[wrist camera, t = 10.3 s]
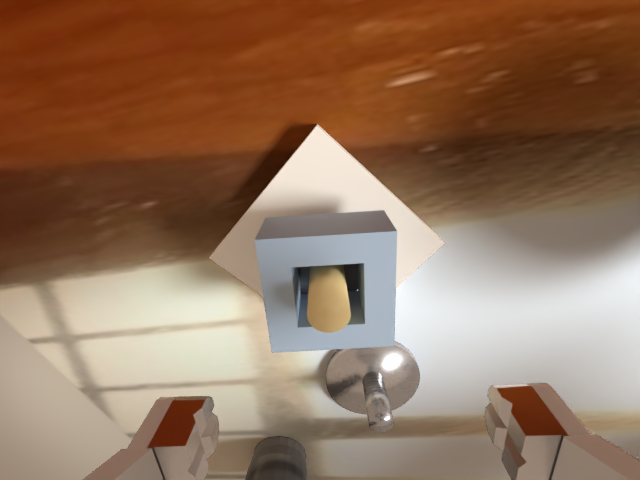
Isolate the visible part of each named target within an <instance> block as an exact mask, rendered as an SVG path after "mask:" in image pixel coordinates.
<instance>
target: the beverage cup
mask: <svg viewBox="0 0 640 480" xmlns="http://www.w3.org/2000/svg"><path fill="white" fill-rule="evenodd" d="M305 460H306V454H305V450H304V448H303V447H302V445H301V444H299V443H298V442H297V441H295V440H293V439H290V438H287V437H271V438H268V439H265V440H263V441H261V442H260V443H259V444H258V445H257V446H256V448H255V451H254V456H253V458H252V461H251V464H250V466H249V469H248V472H247V476H246V479H245V480H308V477H307V469H306V461H305Z"/></svg>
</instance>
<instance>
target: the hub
mask: <svg viewBox="0 0 640 480" xmlns="http://www.w3.org/2000/svg"><path fill="white" fill-rule="evenodd" d="M378 210H384V211H385V213H386V214H387V216H388V217H389V219H390V220H391V222H392V224H393V225H394V227H395V228H396V230H397V258H396V287H397V286H399V285H400V284H401V283H402V282H403V281H404V280H405V279H406V278H407V277H408V276H409V275H411V274H412V273H413V272H414V271H415V270H416V269H417V268H418V267H419V266H420V265H422V264H423V263H424V262H425V261H426V260H427V259H428V258H429V257H430V256H431V255H433V254H434V253H435V252H436V251H437V250H438V249H439V248H440V247H441V246H442V245H443V244H445V242H444V241H443V240H442V239H441V238H440V236H439V235H438V234H437V233H436V232H435V231H433V230H432V229H431V228H430V227H429V226H428V225H427V224H426V223H425V222H424V221H423V220H421V219H420V218H419V217H418V216H417V215H416V214H415V213H414V212H413V211H412V210H411V209H409V208H408V207H407V206H406V205H405V204H404V203H403V202H402V201H401V200H400V199H399V198H397V197H396V196H395V195H394V194H393V193H392V192H391V191H390V190H389V189H388V188H387V187H386V186H384V185H383V184H382V183H381V182H380V181H379V180H378V179H377V178H376V177H375V176H374V175H372V174H371V173H370V172H369V171H368V170H367V169H366V168H365V167H364V166H363V165H362V164H360V163H359V162H358V161H357V160H356V159H355V158H354V157H353V156H352V155H351V154H350V153H348V152H347V151H346V150H345V149H344V148H343V147H342V146H341V145H340V144H339V143H338V142H336V141H335V140H334V139H333V138H332V137H331V136H330V135H329V134H328V133H327V132H326V131H325V130H323V129H322V128H321V127H320V126H319V125H318V124H317V125H316V126H315V127H314V129H313V130H312V131H311V132H310V134H309V135H308V136H307V137H306V139H305V140H304V141H303V142H302V143H301V145H300V146H299V147H298V148H297V150H296V151H295V152H294V153H293V154H292V156H291V157H290V158H289V159H288V161H287V162H286V163H285V164H284V166H283V167H282V168H281V169H280V170H279V172H278V173H277V174H276V175H275V177H274V178H273V179H272V180H271V181H270V183H269V184H268V185H267V186H266V188H265V189H264V190H263V191H262V192H261V194H260V195H259V196H258V197H257V199H256V200H255V201H254V202H253V204H252V205H251V206H250V207H249V208H248V210H247V211H246V212H245V213H244V215H243V216H242V217H241V218H240V219H239V221H238V222H237V223H236V224H235V226H234V227H233V228H232V229H231V231H230V232H229V233H228V234H227V235H226V237H225V238H224V239H223V240H222V242H221V243H220V244H219V245H218V246H217V248H216V249H215V250H214V252H213V253H212V254H211V256H210V257H209V259H211V260H212V261H213V262H215V263H216V264H218V265H219V266H220V267H222V268H223V269H225V270H226V271H228V272H229V273H230V274H232V275H233V276H235V277H236V278H237V279H239V280H240V281H242V282H243V283H245V284H246V285H247V286H249V287H250V288H252V289H253V290H254V291H256V292H257V293H259V294H260V295H262V296H263V291H262V285H261V278H260V272H259V265H258V259H257V252H256V246H255V238H256V236H257V234H258V232H259V230H260V228H261V226H262V224H263V222H264V220H265V218H268V217H283V216H299V215H315V214H331V213H347V212H362V211H378ZM298 270H299V280H300V290H301V294H308V307H307V318H308V321H309V323H310V324H311V326H312V327H313V328H315V329H316V330H318V331H321V332H325V333H333V332H337V331H339V330H341V329H343V328H344V327H345V326H346V325H347V324H348V322H349V321H350V317H351V311H350V304H349V298H348V291H358V266H357V264H341V265H325V266H308V267H298Z"/></svg>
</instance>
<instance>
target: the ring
mask: <svg viewBox="0 0 640 480" xmlns="http://www.w3.org/2000/svg"><path fill="white" fill-rule="evenodd" d="M255 246H256V252H257V259H258V265H259V272H260V278H261V285H262V291H263V298H264V305H265V311H266V318H267V324H268V331H269V337H270V344H271V350H272V353H275V352H294V351H312V350H331V349H350V348H368V347H387V346H394V336H395V297H396V258H397V230H396V228H395V227H394V225H393V224H392V222H391V220H390V219H389V217H388V216H387V214H386V213H385V211H384V210H378V211H362V212H347V213H331V214H315V215H299V216H283V217H268V218H265V220H264V222H263V224H262V226H261V228H260V230H259V232H258V234H257V236H256V238H255ZM341 264H357V266H358V291H348V298H349V304H350V311H351V317H350V321H349V322H348V324H347V325H346V326H345V327H344V328H343V329H341V330H339V331H337V332H333V333H325V332H321V331H318V330H316V329H315V328H313V327H312V326H311V324H310V323H309V321H308V318H307V307H308V294H301V290H300V280H299V270H298V267H308V266H325V265H341Z"/></svg>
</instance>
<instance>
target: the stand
mask: <svg viewBox="0 0 640 480" xmlns="http://www.w3.org/2000/svg"><path fill="white" fill-rule="evenodd" d="M419 380H420V373H419V368H418V366H417V363H416V360H415V358H414V356H413V355H412V353H411V352H410V351H409V350H408V349H407V348H406V347H404V346H403V345H401V344H400V343H398V342H396V341H394V346H387V347H368V348H350V349H340V350H338V351H337V352H336V353H335V354H334V356H333V357H332V358H331V360H330V362H329V364H328V367H327V371H326V384H327V389H328V391H329V394H330V395H331V397H332V398H333V400H334V401H335V402H336V403H337V404H339V405H340V406H342V407H343V408H345V409H347V410H349V411H352V412H355V413H360V414H367V415H368V421H369V427H370V428H371V429H372V430H373V431H375V432H386V431H388V430H390V429H391V428H392V427H393V425H394V421H393V417H392V413H391V410H394V409H396V408H398V407H400V406H402V405H403V404H405V403H406V402H407V401H408V400H409V399H410V398H411V397H412V396H413V395H414V393H415V392H416V390H417V388H418V385H419Z"/></svg>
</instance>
